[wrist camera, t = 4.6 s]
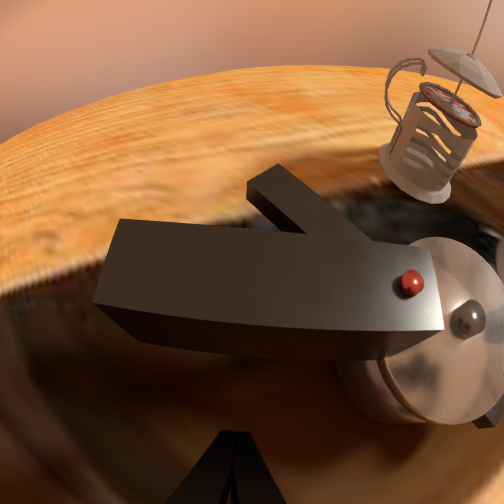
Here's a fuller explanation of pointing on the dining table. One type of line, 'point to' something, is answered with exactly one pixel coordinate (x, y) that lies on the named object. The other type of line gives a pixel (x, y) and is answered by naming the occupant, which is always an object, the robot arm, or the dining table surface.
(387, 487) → the dining table surface
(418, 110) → the french press
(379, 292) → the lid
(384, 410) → the pot
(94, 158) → the dining table surface
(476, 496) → the dining table surface
